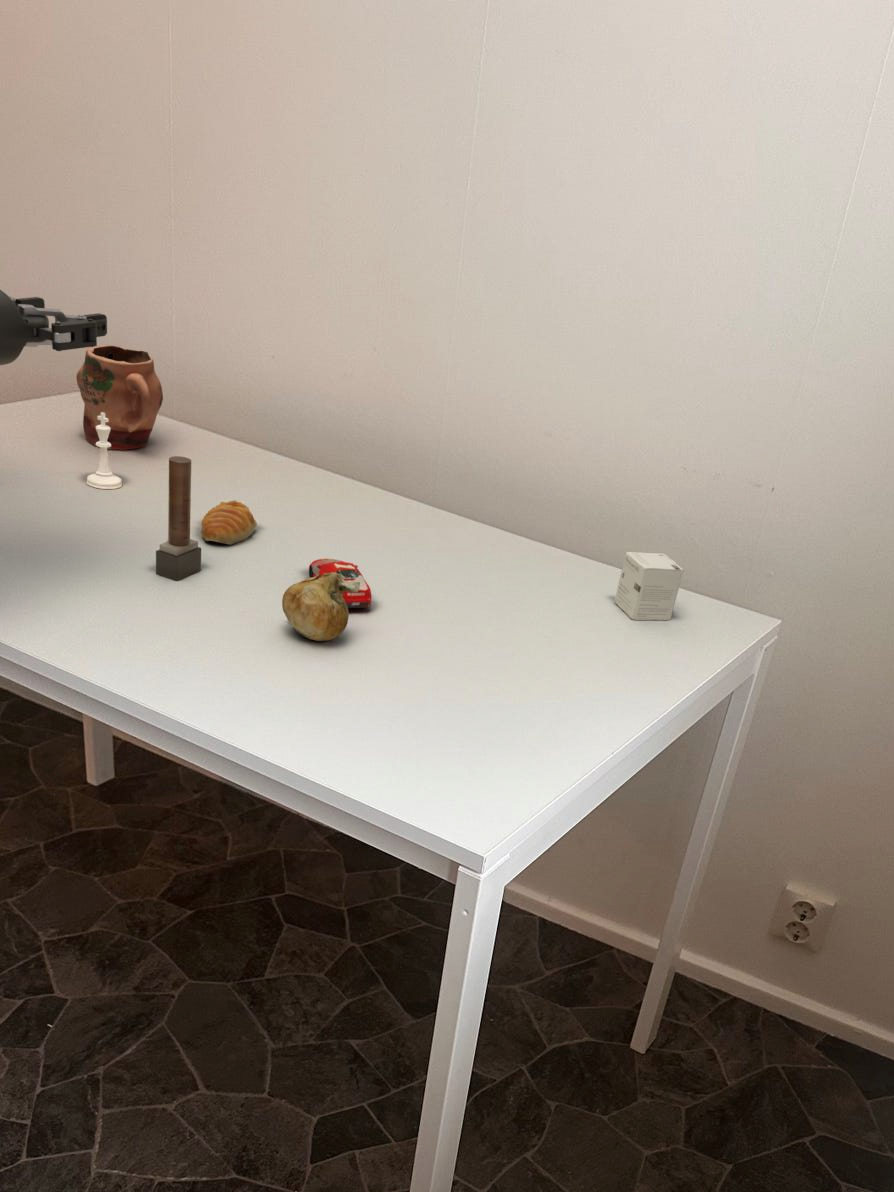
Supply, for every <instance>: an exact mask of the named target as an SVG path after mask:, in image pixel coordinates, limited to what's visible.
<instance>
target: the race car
mask: <svg viewBox="0 0 894 1192" xmlns="http://www.w3.org/2000/svg"><path fill="white" fill-rule="evenodd" d="M358 567H359V566H358V565H356V564H354V563H353V562H346V561H343V560H341V559H340V560H339V559H335V558H319V559H315V560H313V561H312V562H310V564H309V566H308V578H312V577H316V576H318V575H319V573H320V576H319V577H318V578H321V577H322V574H324V573H326V574H327V573H331V572H333V573H335V572H336V573H338V574H340V575H342V577H341V578H342V579H343V580H345V581H348V580H349V581H359V582H360V586H359V591H358V592H356V593H355V592H344V591H342V592H341V595H342V597H343V599H344V600H345V602H346V604H347V607H348V609H351V608H352V609H362V608H363V609H367V608H370V607H371V605H372V591H371V587H370V585H369V584H368V583H367V581H366V579H365V578H364V576H363V574H362V573H361V571H360V570H359V569H358Z"/></svg>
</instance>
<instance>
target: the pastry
mask: <svg viewBox="0 0 894 1192" xmlns="http://www.w3.org/2000/svg"><path fill="white" fill-rule="evenodd" d="M257 526H258V522H257V520H256V518H254V515H253V513H252V512H251V510H250V509H249V506H247V505H246V504H244V503H242V502H241V501H236V500H229V501H227V502H225V501H220V503H219V504H217V505H215V507H212V508H211V509H209V510H208V511H207V513H205V515H204V516H203V517H202V519H201V536H202V538H203V539H204V541H205V542H210V541H211V542H216V543H220V544H225V545H235V543H238V542H239V543H240V542H243V541H245V540H246V539H248V538H249V536H252V535H253V532H254V531H255V530H256V527H257Z"/></svg>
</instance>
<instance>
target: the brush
mask: <svg viewBox="0 0 894 1192" xmlns="http://www.w3.org/2000/svg"><path fill="white" fill-rule="evenodd" d="M191 501H192V459H191V458H189V457H186V456H182V455H181V456H179V455H175V456H169V457H168V501H167V502H168V503H167V506H168V508H167V510H168V511H167V514H168V515H167V517H168V518H167V519H168V520H167V522H168V523H167V541H165V542H162V543H160V544H159V549H156V550H155V574H156V575H159V576H160V577H161V576H162V577H164V578H167V579H171V580H174V581H176V582H178V581H180V580H183V579H185V578H187V577H189V576H191V575H194V574H196V573H199V572H201V570H202V547H200V546H199V541H198V540H195V539H192V538H191V509H192V508H191V505H192V504H191V503H192V502H191Z"/></svg>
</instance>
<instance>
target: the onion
mask: <svg viewBox="0 0 894 1192" xmlns="http://www.w3.org/2000/svg"><path fill="white" fill-rule="evenodd" d="M319 576H320V573H319V575H318V576H316V577H312V578H310V577H308V578H306V579H304V580H300V581H299V582H297V583H293V584H292V585H290V586H289V587H288V588H286V589H285V591H284V593H283V595H282V599H281V606H282V611H283V613H284V615H285V617H286V619H287V620H285V623H287V624H289V625H290V626H292V628H293V629H294V631H296V632H297V633H298V634H300V635H301V636H303V637H304V638H307V639H308V640H310V641H311V640H312V641H316V642H326V641H327V642H328V641H332V640H334V639H336V638H338V637H340V635H342V633H343V632H344V631H345V630H346V628H347V625H348V624H349V623H348V622H349V617H350V616H349V615H350V614H349V607H347V604H346V602H345V600H344V599H343V597H342V595H341V592H342V591H344V592H355V593H356V592H358V591H359V586H360V582H359V581H349V580H348V581H345V580H343V579H342V578H341V577H342V575H340V574H338V573H336V572H335V573H333V572H331V573H327V574H326V573H324V574H322V577H321V578H318V577H319Z"/></svg>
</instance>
